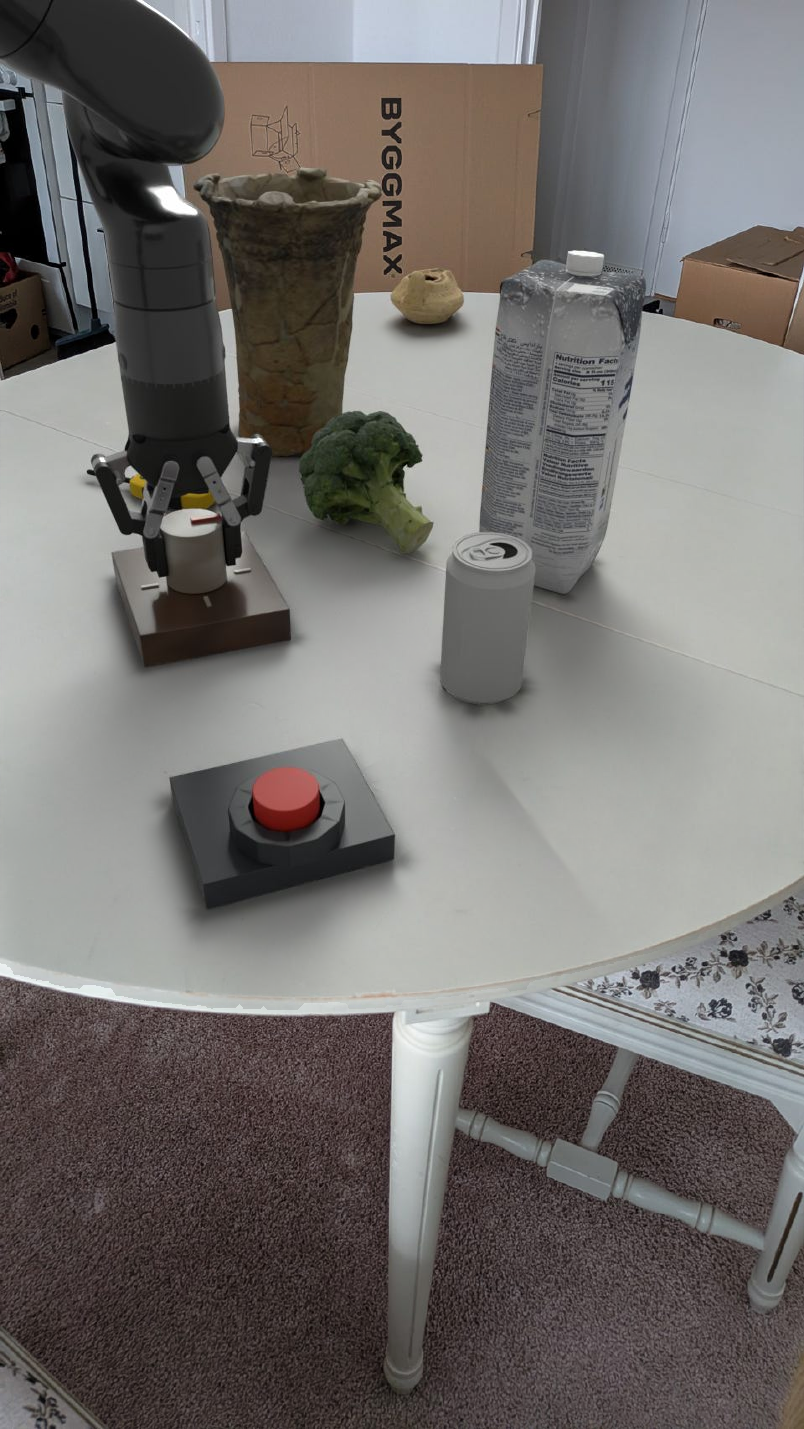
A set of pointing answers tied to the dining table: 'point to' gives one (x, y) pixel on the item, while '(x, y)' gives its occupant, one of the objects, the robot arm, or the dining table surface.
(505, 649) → the beverage can
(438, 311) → the oil lamp
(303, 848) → the button block
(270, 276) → the vase
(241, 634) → the panel
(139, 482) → the yellow walkie talkie
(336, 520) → the vegetable
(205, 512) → the knob
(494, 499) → the juice carton
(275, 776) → the button
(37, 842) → the dining table surface
